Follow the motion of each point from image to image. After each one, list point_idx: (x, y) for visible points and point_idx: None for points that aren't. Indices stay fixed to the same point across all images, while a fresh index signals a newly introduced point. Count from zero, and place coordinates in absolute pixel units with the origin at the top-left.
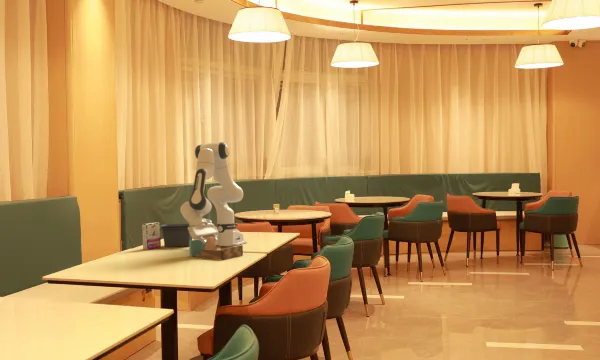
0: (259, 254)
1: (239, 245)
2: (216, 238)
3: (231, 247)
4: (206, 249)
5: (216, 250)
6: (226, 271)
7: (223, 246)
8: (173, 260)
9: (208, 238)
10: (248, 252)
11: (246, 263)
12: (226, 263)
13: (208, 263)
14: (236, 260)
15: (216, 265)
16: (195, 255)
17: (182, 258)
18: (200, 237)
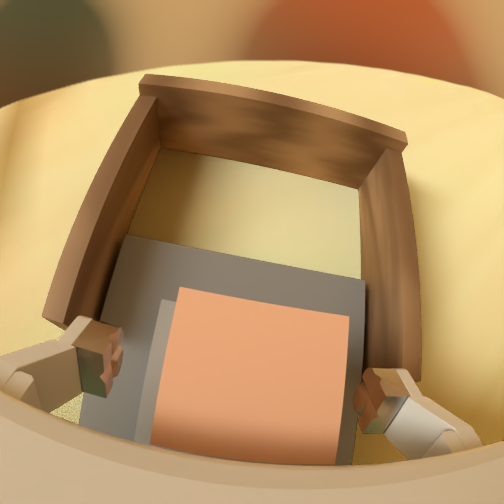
0: (98, 85)
1: (159, 85)
2: (77, 333)
3: (296, 98)
4: (414, 310)
5: (407, 189)
6: (492, 109)
7: (79, 279)
8: None
9: (343, 370)
10: (13, 166)
11: (376, 71)
12: (428, 132)
13: (477, 208)
14: None
15: (476, 157)
16: None
17: None
18: (472, 445)
